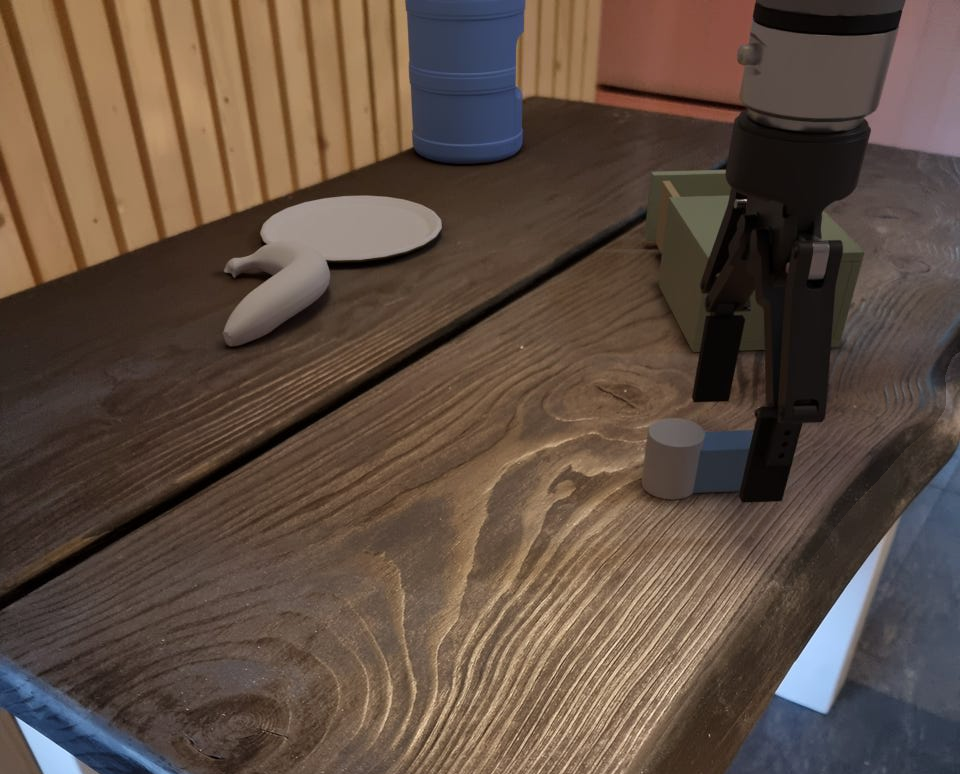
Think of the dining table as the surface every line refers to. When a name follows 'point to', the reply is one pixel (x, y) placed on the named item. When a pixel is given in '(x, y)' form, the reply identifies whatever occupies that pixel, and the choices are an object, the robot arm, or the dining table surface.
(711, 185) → the drawer
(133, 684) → the dining table surface
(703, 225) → the cabinet
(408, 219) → the plate
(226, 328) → the banana
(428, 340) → the dining table surface
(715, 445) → the cylinder with blue block
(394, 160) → the dining table surface
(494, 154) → the water jug
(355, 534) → the dining table surface
